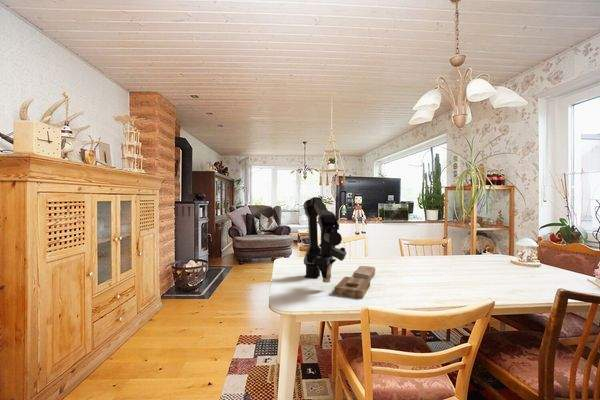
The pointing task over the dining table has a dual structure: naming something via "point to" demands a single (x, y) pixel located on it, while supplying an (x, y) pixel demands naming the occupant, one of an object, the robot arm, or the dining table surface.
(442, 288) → the dining table surface
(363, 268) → the brick
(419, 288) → the dining table surface
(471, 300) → the dining table surface
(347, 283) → the seat board
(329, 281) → the peg
